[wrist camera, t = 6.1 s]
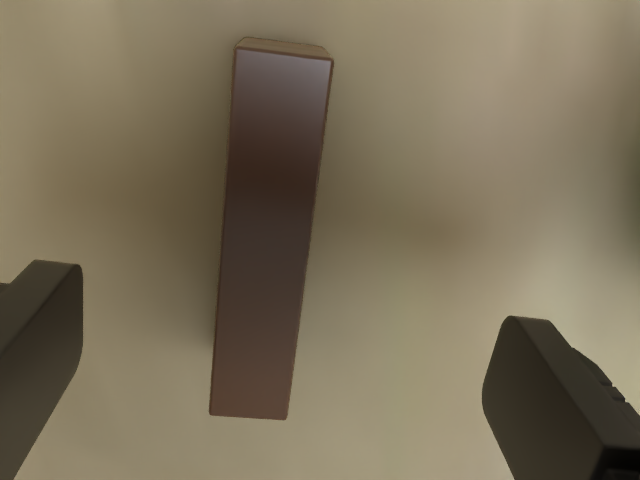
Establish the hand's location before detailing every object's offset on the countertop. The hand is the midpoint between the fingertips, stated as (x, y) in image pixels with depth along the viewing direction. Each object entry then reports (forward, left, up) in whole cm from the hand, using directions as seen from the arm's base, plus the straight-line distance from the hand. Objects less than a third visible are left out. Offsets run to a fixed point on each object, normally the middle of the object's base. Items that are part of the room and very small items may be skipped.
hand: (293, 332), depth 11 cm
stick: (-1, 0, -5) cm, 5 cm away
